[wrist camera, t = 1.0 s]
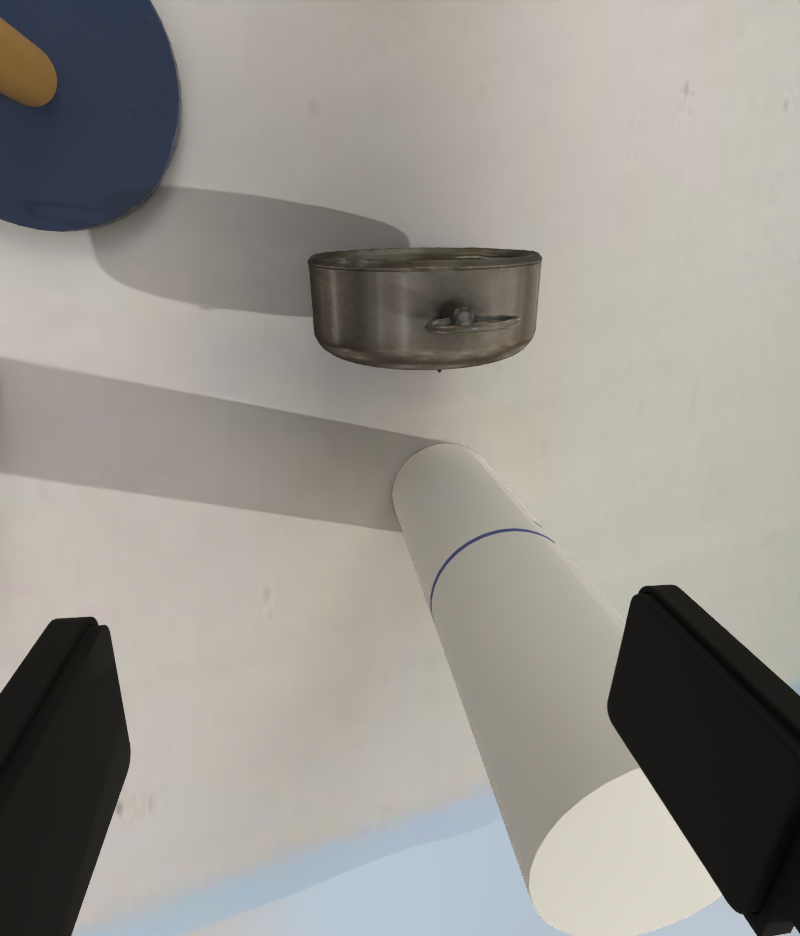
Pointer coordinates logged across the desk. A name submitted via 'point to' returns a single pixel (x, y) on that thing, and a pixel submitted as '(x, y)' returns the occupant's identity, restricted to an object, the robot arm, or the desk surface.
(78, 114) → the tin lid
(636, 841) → the cylindrical container
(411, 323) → the alarm clock
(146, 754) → the desk surface
